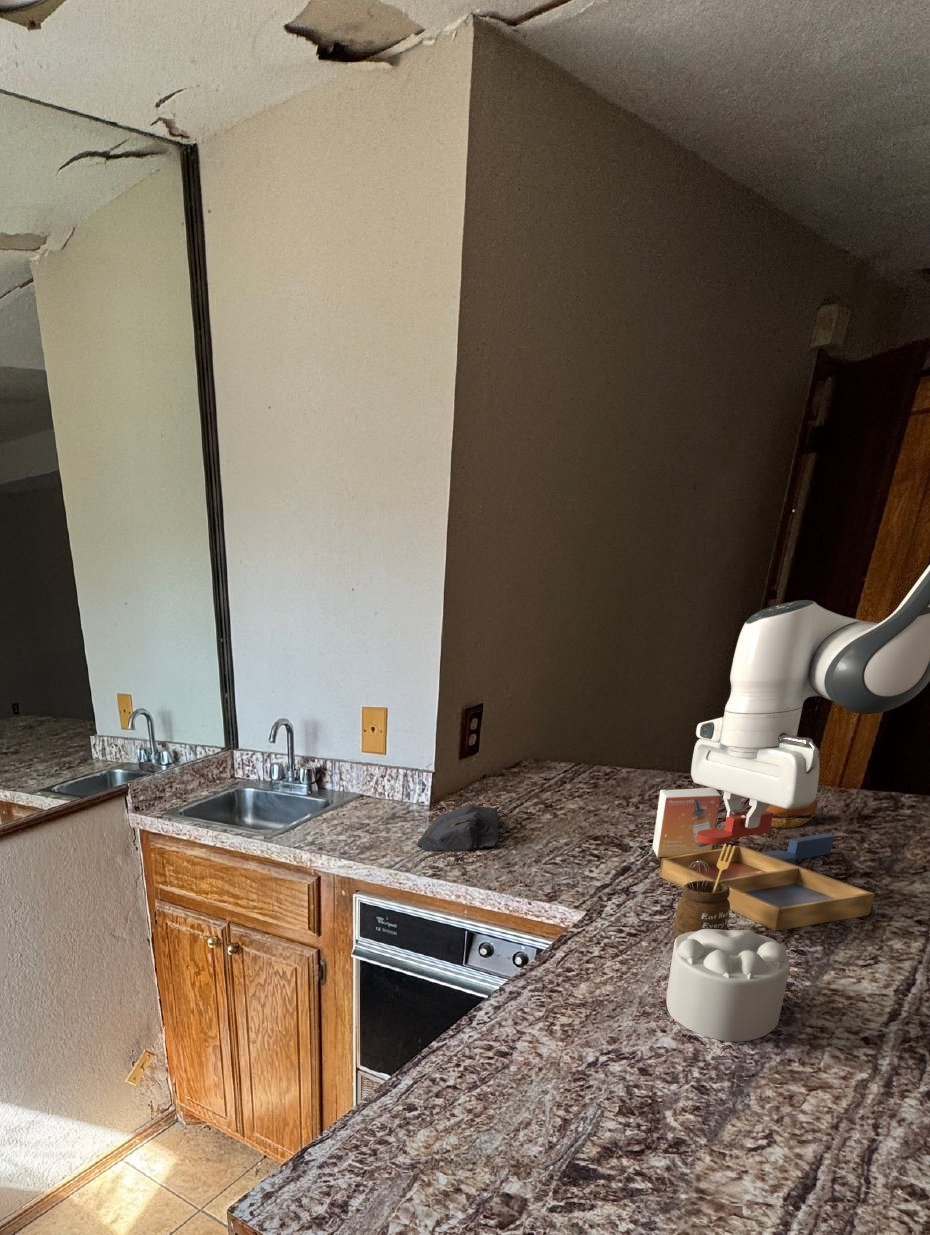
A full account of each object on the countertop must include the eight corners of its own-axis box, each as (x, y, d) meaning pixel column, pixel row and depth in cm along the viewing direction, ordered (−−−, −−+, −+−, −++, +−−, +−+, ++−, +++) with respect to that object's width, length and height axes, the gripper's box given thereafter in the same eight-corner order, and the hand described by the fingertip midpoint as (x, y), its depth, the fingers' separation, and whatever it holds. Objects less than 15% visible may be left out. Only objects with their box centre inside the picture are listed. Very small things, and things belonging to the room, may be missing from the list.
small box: (656, 858, 132) (664, 797, 128) (651, 848, 137) (659, 788, 132) (712, 857, 129) (722, 794, 125) (705, 847, 134) (715, 786, 129)
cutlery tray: (737, 863, 125) (740, 845, 124) (869, 915, 104) (874, 893, 102) (658, 876, 125) (661, 858, 124) (774, 931, 104) (779, 909, 102)
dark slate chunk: (508, 818, 164) (509, 796, 162) (495, 851, 147) (496, 827, 145) (434, 819, 171) (434, 798, 169) (412, 851, 154) (412, 828, 152)
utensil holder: (662, 934, 107) (674, 851, 102) (696, 922, 109) (709, 839, 104) (703, 947, 102) (717, 861, 97) (737, 935, 104) (753, 849, 99)
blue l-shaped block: (815, 848, 126) (818, 830, 125) (838, 856, 122) (842, 838, 121) (754, 859, 126) (757, 841, 125) (775, 866, 122) (778, 848, 121)
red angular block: (754, 827, 119) (758, 808, 117) (776, 835, 115) (781, 815, 113) (689, 838, 119) (692, 818, 117) (709, 845, 115) (712, 826, 113)
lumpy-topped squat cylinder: (765, 989, 91) (780, 921, 88) (789, 1046, 81) (806, 972, 77) (662, 983, 96) (672, 918, 92) (672, 1036, 86) (683, 966, 82)
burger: (766, 831, 136) (771, 805, 134) (736, 818, 144) (740, 793, 142) (828, 824, 135) (834, 798, 133) (794, 811, 143) (799, 786, 141)
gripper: (843, 736, 101) (820, 839, 107) (729, 717, 119) (714, 806, 125) (796, 743, 101) (775, 846, 107) (689, 723, 119) (676, 812, 125)
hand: (741, 824), depth 116 cm, fingers closed on red angular block
